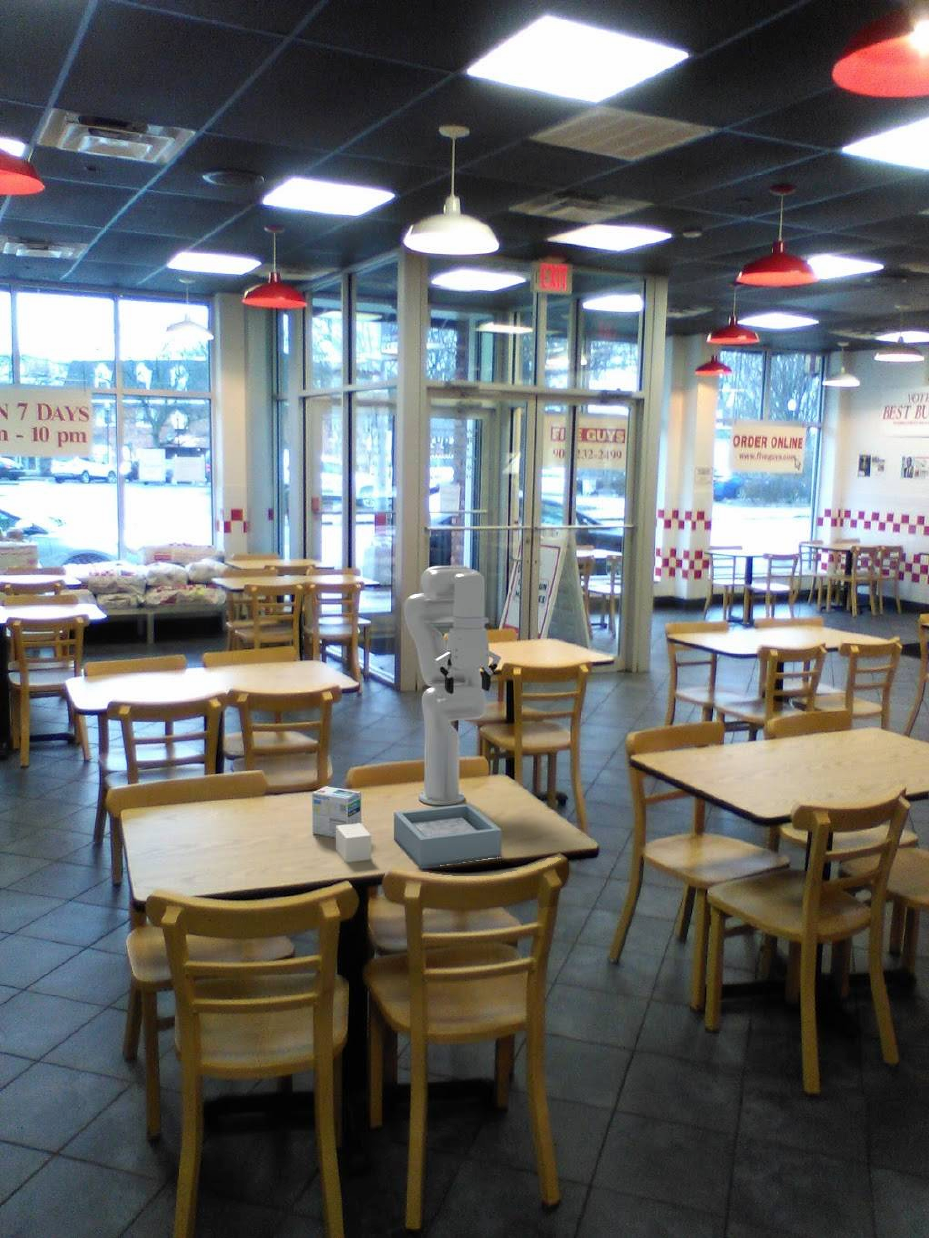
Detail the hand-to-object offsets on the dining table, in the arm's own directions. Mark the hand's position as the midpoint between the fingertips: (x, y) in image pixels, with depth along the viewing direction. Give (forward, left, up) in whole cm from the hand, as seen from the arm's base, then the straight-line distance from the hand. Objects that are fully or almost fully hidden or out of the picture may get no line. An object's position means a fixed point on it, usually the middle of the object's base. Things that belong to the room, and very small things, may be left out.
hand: (467, 691), depth 266 cm
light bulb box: (-8, -31, -36) cm, 48 cm away
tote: (+11, -9, -36) cm, 39 cm away
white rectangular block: (+7, -31, -36) cm, 48 cm away
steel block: (+11, -9, -35) cm, 38 cm away
